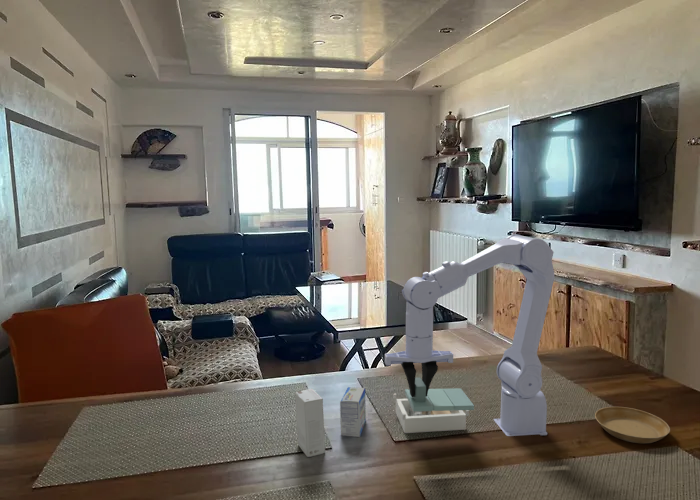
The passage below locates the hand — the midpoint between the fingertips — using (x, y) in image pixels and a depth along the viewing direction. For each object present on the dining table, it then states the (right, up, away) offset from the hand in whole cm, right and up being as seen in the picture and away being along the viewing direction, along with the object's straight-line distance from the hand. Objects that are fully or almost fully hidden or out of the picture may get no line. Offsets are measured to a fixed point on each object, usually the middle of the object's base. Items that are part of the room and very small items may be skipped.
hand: (418, 394), depth 108 cm
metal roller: (+2, -8, +10) cm, 13 cm away
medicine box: (-14, -10, +6) cm, 18 cm away
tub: (+4, -9, +9) cm, 13 cm away
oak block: (+6, -9, +8) cm, 14 cm away
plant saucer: (+48, -10, +5) cm, 50 cm away
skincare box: (-23, -11, -2) cm, 26 cm away
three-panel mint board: (+4, -2, +1) cm, 5 cm away
